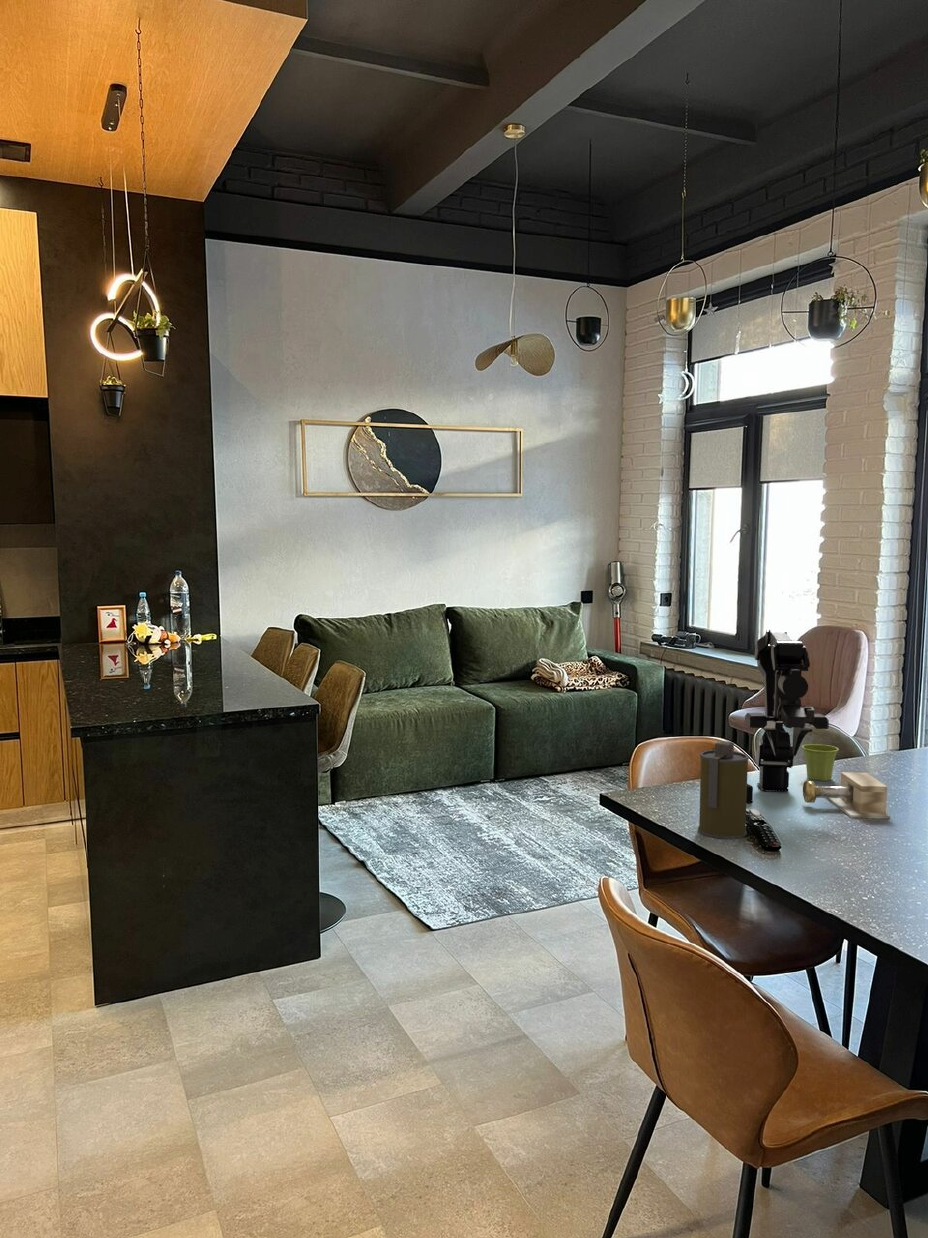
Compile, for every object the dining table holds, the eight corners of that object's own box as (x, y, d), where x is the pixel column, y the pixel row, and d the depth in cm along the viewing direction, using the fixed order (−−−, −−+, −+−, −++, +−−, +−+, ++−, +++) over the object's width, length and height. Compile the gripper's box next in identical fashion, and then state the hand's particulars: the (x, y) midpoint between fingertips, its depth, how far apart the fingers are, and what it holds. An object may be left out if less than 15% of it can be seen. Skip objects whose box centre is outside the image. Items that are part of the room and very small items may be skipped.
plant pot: (793, 775, 251) (794, 744, 251) (821, 773, 254) (822, 743, 254) (816, 784, 242) (817, 752, 242) (845, 781, 245) (846, 750, 245)
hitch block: (851, 817, 212) (852, 788, 211) (824, 796, 230) (825, 769, 229) (890, 818, 211) (891, 789, 211) (860, 797, 229) (861, 770, 229)
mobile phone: (755, 785, 223) (722, 769, 238) (744, 786, 222) (712, 770, 237) (754, 804, 224) (721, 787, 238) (744, 805, 223) (711, 788, 237)
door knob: (809, 805, 218) (810, 784, 218) (802, 799, 224) (803, 778, 223) (875, 806, 218) (875, 785, 217) (866, 800, 223) (867, 779, 222)
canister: (709, 821, 208) (712, 736, 206) (753, 831, 201) (756, 742, 200) (689, 833, 200) (691, 744, 198) (734, 843, 193) (737, 751, 191)
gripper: (757, 697, 212) (755, 762, 213) (838, 698, 211) (835, 764, 212) (744, 689, 223) (743, 752, 224) (821, 691, 222) (819, 753, 223)
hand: (785, 755), depth 220 cm, fingers open, 4 cm apart
